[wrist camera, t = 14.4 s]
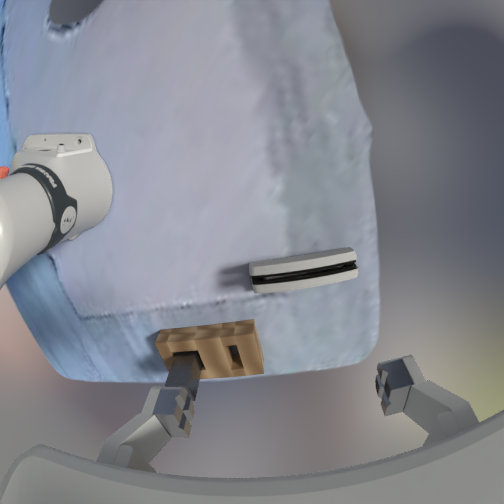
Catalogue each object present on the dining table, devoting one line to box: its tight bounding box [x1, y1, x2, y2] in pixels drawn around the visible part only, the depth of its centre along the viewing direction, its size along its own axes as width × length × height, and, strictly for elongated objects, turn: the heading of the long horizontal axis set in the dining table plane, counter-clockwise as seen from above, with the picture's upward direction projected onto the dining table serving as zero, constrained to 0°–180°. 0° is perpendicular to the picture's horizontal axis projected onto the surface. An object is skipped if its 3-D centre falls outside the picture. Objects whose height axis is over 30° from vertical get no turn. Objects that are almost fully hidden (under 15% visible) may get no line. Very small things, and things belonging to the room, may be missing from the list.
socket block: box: [155, 319, 264, 379], centre depth 52 cm, size 18×10×4 cm, turn 101°
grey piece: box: [249, 247, 358, 293], centre depth 43 cm, size 17×5×10 cm, turn 100°
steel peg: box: [165, 350, 203, 401], centre depth 49 cm, size 4×4×12 cm
